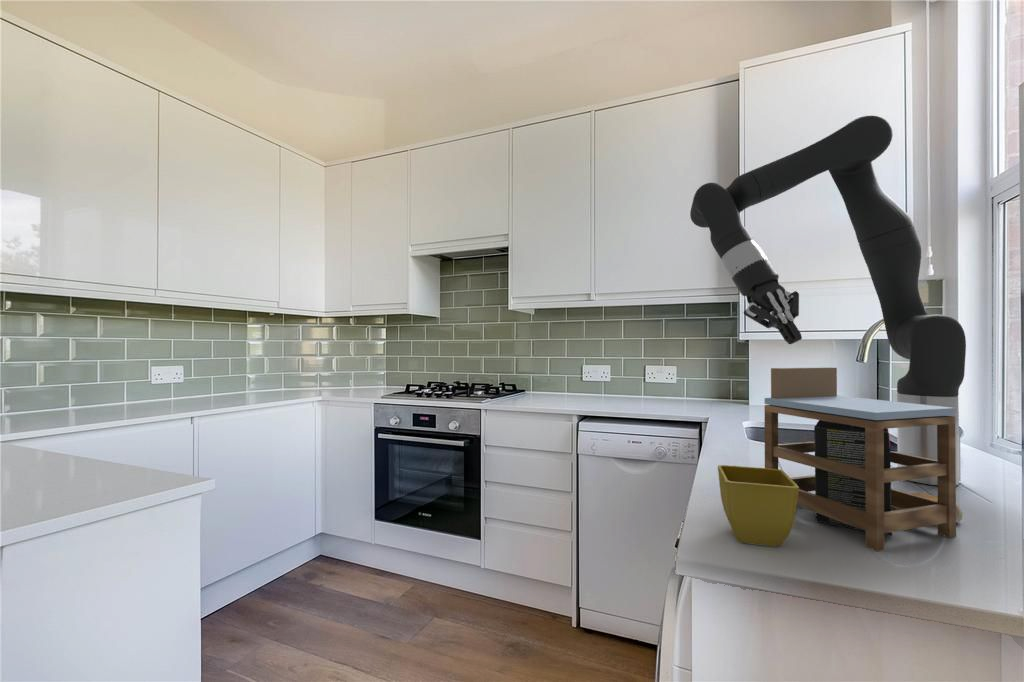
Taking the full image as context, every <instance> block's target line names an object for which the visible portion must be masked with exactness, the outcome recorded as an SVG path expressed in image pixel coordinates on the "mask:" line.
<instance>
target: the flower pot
mask: <svg viewBox="0 0 1024 682" xmlns="http://www.w3.org/2000/svg"><path fill="white" fill-rule="evenodd" d="M717 471H718V472H717V473H718V480H719V491H720V499H721V504H722V507H723V511H724V514H725V517H726V519H727V521H728V522H729V523H728V524H729V525H730V528H731V531H732V533H733V536H734V537H735V539H736V541H737V542H739V543H742V544H750V545H751V544H752V545H758V546H766V547H776V548H779V547H780V546H781V545H782V544H783V543H784V542H785V541H786V540H787V538H788V536H789V535H790V534H791V532H792V530H793V526H794V523H795V518H796V512H797V499H798V492H799V487H798V485H797V484H796V483H795V482H794V481H793V480H792V479H791V478H792V477H790V476H789V475H788V474H787V473H786V472H785V471H783V469H779V468H778V469H769V468H765V467H755V466H754V467H752V466H739V465H738V466H737V465H725V464H718V465H717Z"/></svg>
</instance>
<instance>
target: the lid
mask: <svg viewBox="0 0 1024 682" xmlns="http://www.w3.org/2000/svg"><path fill="white" fill-rule="evenodd" d="M837 369H838V368H837V367H832V366H831V367H830V366H829V367H828V366H826V367H825V366H821V367H771V368H770V397H764V405H775V406H782V407H789V408H796V409H803V410H809V411H816V412H823V413H830V414H837V415H843V416H850V417H857V418H864V419H871V420H888V419H903V418H919V417H934V416H949V415H955V408H951V407H941V406H932V405H922V404H913V403H904V402H897V401H893V400H892V401H891V400H883V399H873V398H865V397H856V396H855V397H854V396H844V395H838V388H837V387H838V384H837V383H838V382H837V381H838V374H837V373H838V372H837V371H838V370H837Z"/></svg>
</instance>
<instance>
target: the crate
mask: <svg viewBox="0 0 1024 682" xmlns="http://www.w3.org/2000/svg"><path fill="white" fill-rule="evenodd" d="M779 414H780V415H787V416H792V417H798V418H799V417H800V418H805V419H812V420H817V421H819V420H822V421H828V422H834V423H840V424H846V425H852V426H858V427H865V468H864V467H860V466H856V465H851V464H847V463H843V462H839V461H835V460H831V459H827V458H823V457H819V456H815V454H810V453H815V440H814V441H813V440H812V441H803V442H790V443H788V442H787V443H780V444H779ZM928 425H937V460H933V459H928V458H923V457H918V456H913V455H908V454H903V453H898V451H892V450H890V463H891V464H892V463H893V464H897V465H898V464H901V465H905V466H904V467H898V466H897V467H891V468H886V469H884V429H888V430H889V429H897V428H902V427H915V426H928ZM779 459H782V460H786V461H790V462H794V463H797V464H801V465H804V466H808V467H811V468H814V469H815V468H818V469H822V470H826V471H829V472H833V473H837V474H840V475H844V476H848V477H852V478H855V479H859V480H863V481H865V489H866V511H864V510H861V509H858V508H855V507H852V506H849V505H846V504H843V503H840V502H837V501H834V500H830V499H827V498H824V497H821V496H818V495H815V493H812V492H814V491H815V474H812V475H804V476H794V477H790V478H791V479H792V480H793V481H794V482H795V483H796V484H797V485H798V487H799V492H798V499H797V506H798V507H800V508H803V509H806V510H808V511H811V512H813V513H815V512H816V513H819V514H821V515H824V516H827V517H829V518H832V519H835V520H837V521H840V522H843V523H845V524H848V525H851V526H854V527H856V528H859V529H862V530H861V531H863V530H864V532H865V547H866V548H867V549H870V550H873V551H876V552H881V551H885V535H884V533H890V532H892V533H894V532H901V531H906V530H911V529H918V528H923V527H929V526H937V534H938V535H940V534H941V535H940V536H943V535H945V536H944V537H946V536H948V537H947V538H949V537H950V538H953V537H952V536H956V537H957V523H956V505H957V485H956V446H955V416H934V417H919V418H903V419H888V420H871V419H864V418H857V417H850V416H843V415H837V414H830V413H823V412H816V411H809V410H803V409H796V408H789V407H782V406H775V405H769V404H764V468H769V469H779ZM936 476H937V483H938V485H937V497H938V501H936V500H932V499H929V498H925V497H921V496H918V495H914V494H910V493H911V492H906V491H902V490H899V489H895V488H892V487H891V505H893V506H896V507H899V508H903V510H896V509H895V510H891V511H889V512H884V483H888V482H891V483H894V482H895V483H896V482H902V481H903V482H904V481H910V480H912V479H920V478H928V477H936ZM797 506H796V507H797ZM936 524H938V525H936Z"/></svg>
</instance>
